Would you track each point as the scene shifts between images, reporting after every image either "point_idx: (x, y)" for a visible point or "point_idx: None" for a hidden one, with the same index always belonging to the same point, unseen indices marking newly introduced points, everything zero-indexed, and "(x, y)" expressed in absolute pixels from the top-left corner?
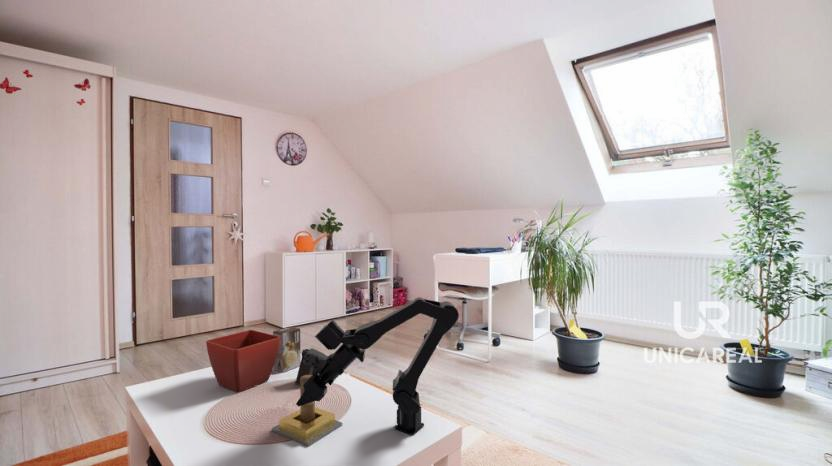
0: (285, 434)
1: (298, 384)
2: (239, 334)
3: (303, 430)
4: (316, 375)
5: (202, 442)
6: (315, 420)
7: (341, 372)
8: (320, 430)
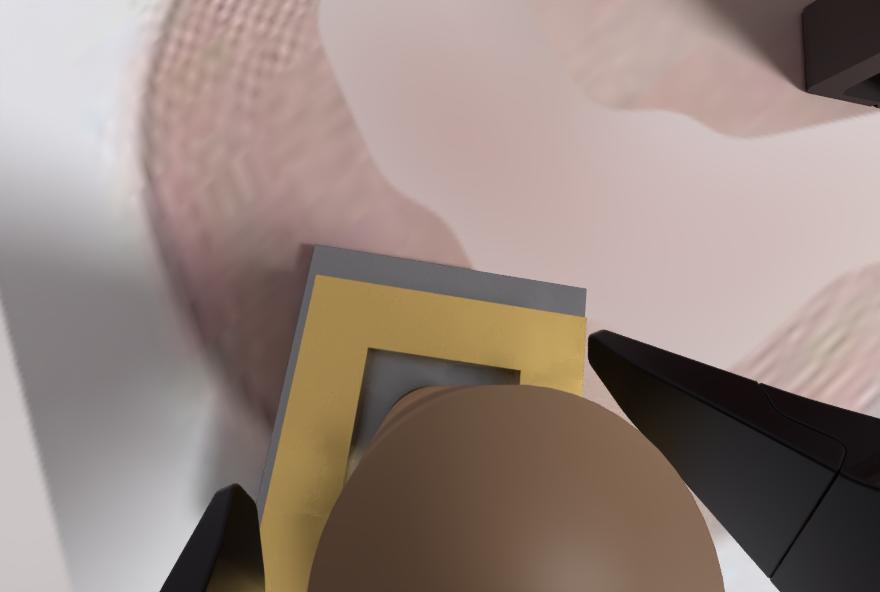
0: (286, 372)
1: (805, 31)
2: None
3: None
4: (848, 481)
5: (99, 11)
6: None
7: None
8: None
